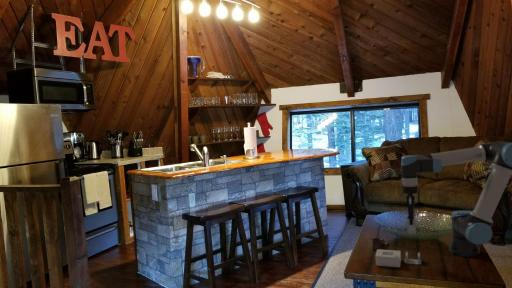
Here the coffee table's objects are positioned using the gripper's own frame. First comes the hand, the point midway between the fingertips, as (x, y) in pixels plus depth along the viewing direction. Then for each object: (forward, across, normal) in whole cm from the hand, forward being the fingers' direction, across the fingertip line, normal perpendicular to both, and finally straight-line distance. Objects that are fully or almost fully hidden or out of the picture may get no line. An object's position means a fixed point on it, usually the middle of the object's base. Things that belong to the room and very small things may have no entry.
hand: (411, 229), depth 208 cm
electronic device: (+19, -15, -17) cm, 29 cm away
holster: (+18, 0, 0) cm, 18 cm away
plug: (+2, 0, 0) cm, 2 cm away
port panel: (+18, +4, -12) cm, 22 cm away
